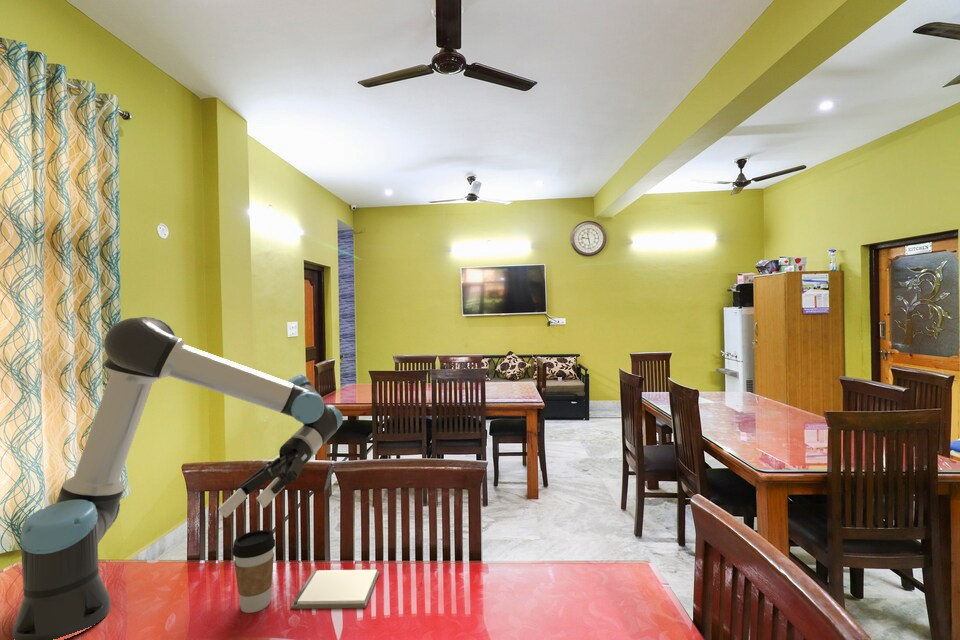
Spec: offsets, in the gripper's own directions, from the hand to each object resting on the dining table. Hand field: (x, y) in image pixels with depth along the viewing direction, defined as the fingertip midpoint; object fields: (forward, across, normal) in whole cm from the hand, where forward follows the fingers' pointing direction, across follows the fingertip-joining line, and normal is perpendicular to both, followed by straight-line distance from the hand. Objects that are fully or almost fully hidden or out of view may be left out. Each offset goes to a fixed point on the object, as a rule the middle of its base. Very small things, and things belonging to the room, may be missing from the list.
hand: (240, 508), depth 105 cm
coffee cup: (+8, +2, -19) cm, 21 cm away
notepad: (-1, -10, -27) cm, 29 cm away
